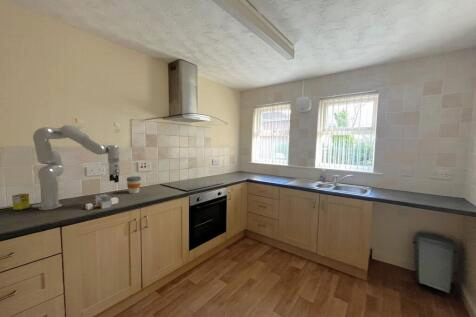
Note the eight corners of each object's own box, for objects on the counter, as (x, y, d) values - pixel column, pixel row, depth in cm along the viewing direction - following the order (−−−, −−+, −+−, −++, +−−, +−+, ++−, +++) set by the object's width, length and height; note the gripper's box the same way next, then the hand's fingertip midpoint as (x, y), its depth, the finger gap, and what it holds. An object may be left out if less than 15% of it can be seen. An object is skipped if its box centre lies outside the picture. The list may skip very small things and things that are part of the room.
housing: (102, 208, 148) (101, 198, 147) (95, 204, 156) (95, 194, 156) (111, 206, 153) (110, 196, 152) (104, 203, 161) (104, 193, 161)
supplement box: (29, 207, 146) (29, 193, 145) (21, 210, 140) (20, 195, 139) (21, 207, 146) (20, 193, 145) (12, 210, 140) (11, 195, 139)
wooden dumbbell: (88, 209, 145) (88, 204, 145) (85, 208, 147) (85, 203, 147) (119, 202, 163) (119, 198, 163) (116, 201, 166) (116, 197, 166)
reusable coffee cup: (136, 190, 207) (136, 176, 205) (143, 191, 200) (143, 177, 199) (124, 192, 196) (123, 177, 195) (131, 194, 189) (131, 179, 188)
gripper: (123, 161, 156) (123, 182, 157) (114, 159, 166) (114, 179, 168) (112, 161, 150) (113, 183, 151) (104, 160, 160) (104, 180, 162)
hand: (114, 181), depth 159 cm, fingers open, 9 cm apart
